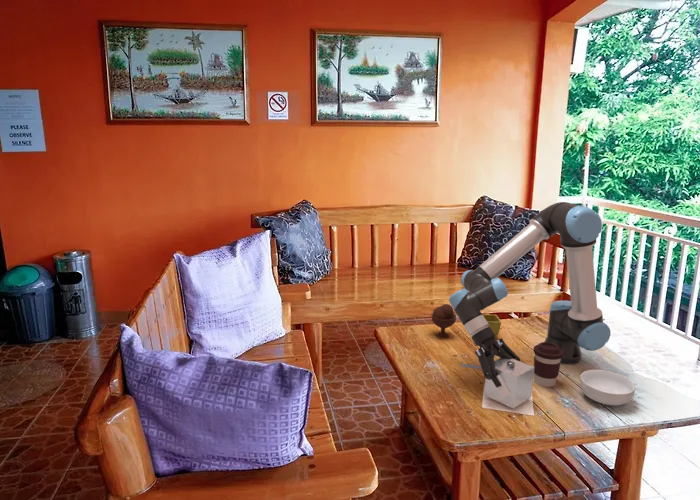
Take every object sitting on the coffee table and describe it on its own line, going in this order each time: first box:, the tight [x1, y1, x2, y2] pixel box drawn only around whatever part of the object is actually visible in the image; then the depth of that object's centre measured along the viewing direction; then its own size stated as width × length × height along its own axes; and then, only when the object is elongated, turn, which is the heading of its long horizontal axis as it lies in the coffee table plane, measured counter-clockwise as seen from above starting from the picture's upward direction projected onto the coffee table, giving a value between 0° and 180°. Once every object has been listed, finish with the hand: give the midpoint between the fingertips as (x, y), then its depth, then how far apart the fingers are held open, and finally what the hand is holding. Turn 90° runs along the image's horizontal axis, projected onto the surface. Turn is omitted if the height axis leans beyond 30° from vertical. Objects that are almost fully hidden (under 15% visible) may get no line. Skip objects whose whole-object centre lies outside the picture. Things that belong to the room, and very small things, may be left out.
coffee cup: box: [532, 341, 564, 388], centre depth 184 cm, size 10×10×15 cm
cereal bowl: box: [579, 369, 636, 406], centre depth 175 cm, size 17×17×7 cm
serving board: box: [481, 384, 535, 416], centre depth 173 cm, size 16×16×1 cm
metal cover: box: [484, 357, 535, 409], centre depth 171 cm, size 11×11×12 cm
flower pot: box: [482, 313, 502, 339], centre depth 226 cm, size 9×9×9 cm
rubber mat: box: [460, 362, 482, 370], centre depth 192 cm, size 14×14×1 cm
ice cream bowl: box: [430, 303, 457, 340], centre depth 225 cm, size 11×11×15 cm
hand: (516, 389), depth 170 cm, fingers closed on metal cover, 11 cm apart
